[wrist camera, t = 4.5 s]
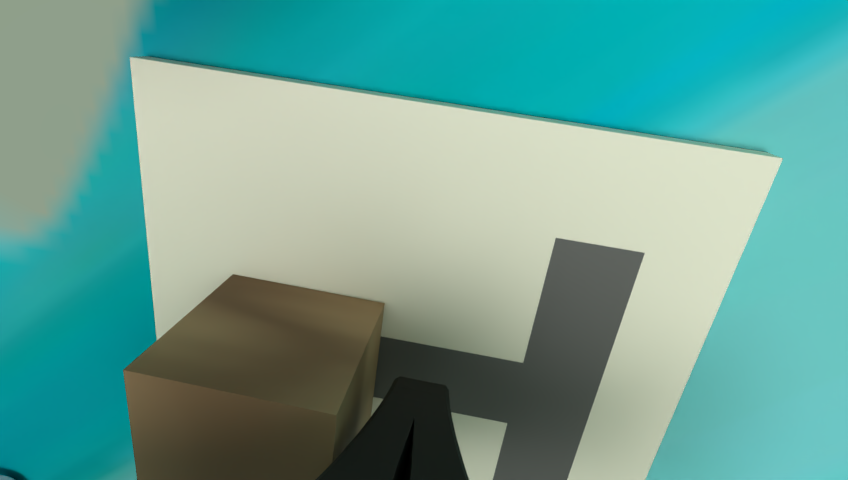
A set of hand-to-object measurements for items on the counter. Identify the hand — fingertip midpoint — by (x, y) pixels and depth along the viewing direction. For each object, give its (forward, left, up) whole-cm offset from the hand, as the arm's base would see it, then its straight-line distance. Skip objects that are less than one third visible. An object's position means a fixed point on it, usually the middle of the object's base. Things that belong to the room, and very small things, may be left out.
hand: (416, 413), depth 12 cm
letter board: (-1, 0, -2) cm, 2 cm away
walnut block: (-3, 0, -1) cm, 4 cm away
